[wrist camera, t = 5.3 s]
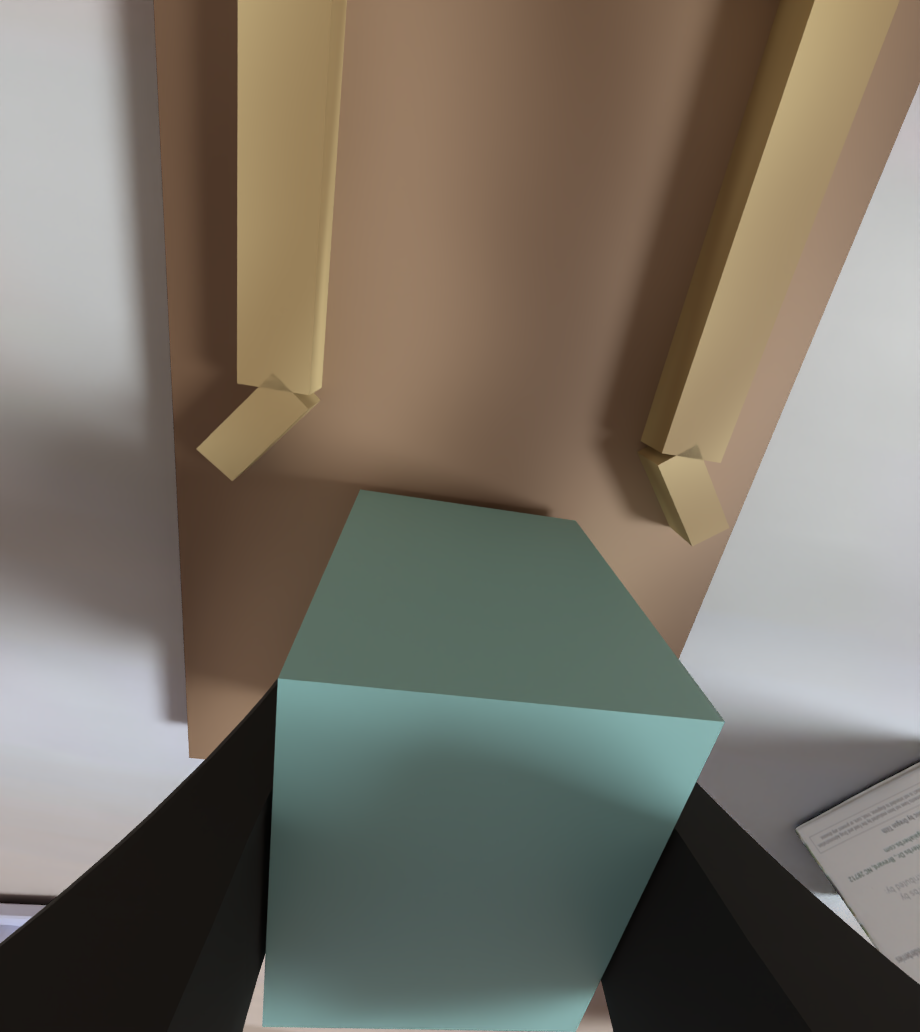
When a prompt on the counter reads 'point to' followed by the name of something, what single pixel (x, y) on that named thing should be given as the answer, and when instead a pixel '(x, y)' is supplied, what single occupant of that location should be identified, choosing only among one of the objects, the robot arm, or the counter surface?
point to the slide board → (494, 276)
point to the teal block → (468, 774)
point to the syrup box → (876, 863)
